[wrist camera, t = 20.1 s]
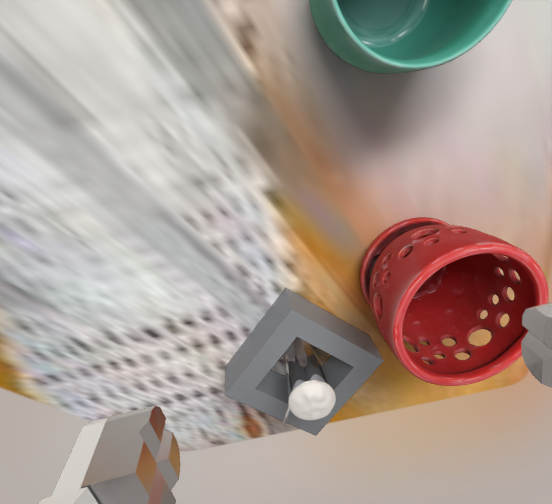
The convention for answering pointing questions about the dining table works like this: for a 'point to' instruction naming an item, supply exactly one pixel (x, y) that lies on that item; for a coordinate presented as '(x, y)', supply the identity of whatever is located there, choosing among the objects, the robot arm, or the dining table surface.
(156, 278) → the dining table surface
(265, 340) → the socket collar
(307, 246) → the dining table surface
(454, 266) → the plant pot
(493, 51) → the dining table surface
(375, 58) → the mug
